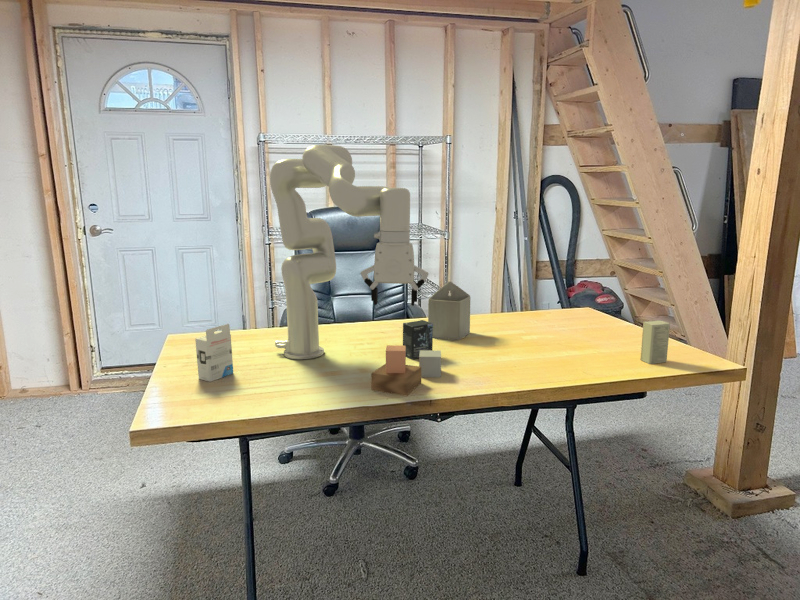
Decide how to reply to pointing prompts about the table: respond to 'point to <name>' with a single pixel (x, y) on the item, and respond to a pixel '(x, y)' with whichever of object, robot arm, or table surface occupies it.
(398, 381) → the brown flat square block
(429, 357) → the grey block
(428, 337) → the box
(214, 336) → the ink box
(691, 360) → the table surface
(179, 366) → the table surface
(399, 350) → the terracotta block
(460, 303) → the planter
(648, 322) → the skincare box
